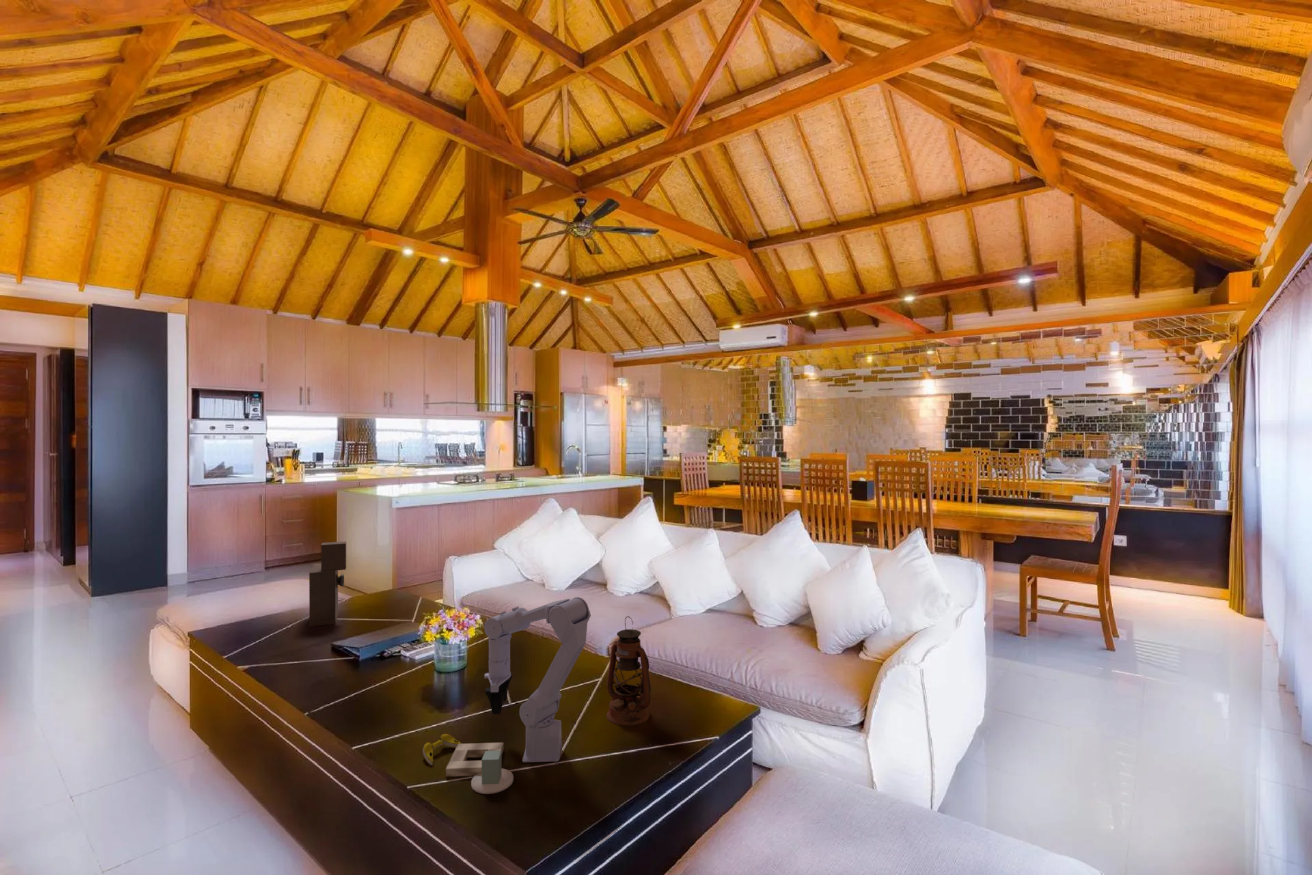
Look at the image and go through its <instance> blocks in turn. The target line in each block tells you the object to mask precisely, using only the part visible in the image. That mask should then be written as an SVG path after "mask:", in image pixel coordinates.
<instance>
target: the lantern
mask: <svg viewBox="0 0 1312 875" xmlns="http://www.w3.org/2000/svg"><path fill="white" fill-rule="evenodd" d="M627 618H629V619H631V622H632V624H634V622H633V619H632V618H631V617H630V616H629V615H627V616H626V617H625V619H624V621H626V620H627ZM626 624H627V623H626V622H624V626H625V627H624V628H625V629H621V630H620V631H617V633H616V635H617V637H619V638H618V639H617V640H615V641H614V642H613V643H612V645H611V647H610V649H611V651H610V659H609V664H608V666H609V667H608V673H607V679H606V689H607V692H608V694H609V695H610V697H611V700H610V701H609V703H608V704H609V705H608V706H609V707H608V711H607V713H606V719H607V721H609V722H610V723H611V724H614V725H618V726H625V727H631V726H637V725H641V724H643V723H646V721H647V720H648V719H649V718H650V713H649V710H648V707H649V706H650V703H651V691H652V686H651V685H652V684H651V680H650V673H649V670H650V661H649V657H648V655H647V653H646V651H645V650H644V648H643V647H642V645H641V639H640V636H641V635H642V632H641V631H639V630H637V629H634V628H631V629H629V628H627V625H626ZM617 658H618V659H617ZM639 658H640V662H639ZM640 668H641V671H640V672H638V670H639V669H640ZM618 670H619V671H620V675H621V677H622V681H620V680H619V679H618V678H619V677H618V676H617V674H618V672H617V671H618ZM623 671H624V672H634V671H635V674H632V676H630V677H629V678H628V679H625V678H624V674H623ZM638 677H639V678H640V682H638V683H636V684H628V683H627V682H629V681H630V680H633V679H636V678H638ZM614 680H615V681H616V682H615V681H614ZM614 688H615V689H614Z"/></svg>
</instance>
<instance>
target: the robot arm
mask: <svg viewBox="0 0 1312 875" xmlns="http://www.w3.org/2000/svg"><path fill="white" fill-rule="evenodd" d="M591 616H592V615H591V610H590V608H589V605H588V603H587V602H586V600H585V599H584V598H582V597H579V596H575V597H574V598H572V599H571V598H565V599H560V600H556V601H552V602H549V603H546V604H544V605H541V606H538V607H535V608H532V609H529V610H527V609H526V608H524V607H519V606H516V607H513V608H511V610H510V611H501V612H500V614H498V615H495V616H491V617H489V618H488V619H486V620H485V622H484V625H483V629H484V633H485V636H487V638H488V672H486V673H484V679H488V681H489V683H490V686H489V687H485V690H484V691H485V692H484V693H485V695H486V697H487V699H488V701H489V705H490V710H491V712H492V715H501V713H502V710H503V704H504V702H506V700H507V698H508V691H509V686H510V684H511V683H510V682H511V680H512V678H513V677H514V676H513V675H514V674H513V673H512V672H511V639H512V634H514V633H518V632H520V631H524V630H527V629H528V628H529V627H530V625H531V623H534V622H537V621H538V622H539V621H542V620H546V623H547V624H550V626H551V628H552V629H553V631H554V633H555V635H556V637H557V638H558V640H559V642H560V643H561V644H560V647H559V648H558V650H557V653H556V654H555V656H554V658H553V660H552V662H551V664H550V665H549V667H548V669H547V671H546V672H545V673H546V674H544V677H543V679H542V681H541V683H540V684H539V686H538V688H537V689H535V691H534V692H532V694H531V695H530V696H529V697H528V699H527V700H526V701H524V702H523V703H521V705H520V707H519V717H520V720H521V721H522V723H523V725H524V726H525V750H524V753H523V756H522V760H521V761H522V763H545V762H550V763H551V762H559V761H560V757H561V752H562V751H561V750H563V749H562V748H563V741H562V720H559V719H555V716H556V713H557V712H558V711H559V707H560V700H561V698H562V694H561V689H562V688H563V686H564V684H565V682H566V680H567V679H568V677H569V674H570V673H571V671H572V669H573V668H574V666H575V664H576V662H577V661H578V659H579V656H580V655H581V653H582V651H583V649H584V647H585V646H586V642H587V631H588V622H589V621H590V619H591Z"/></svg>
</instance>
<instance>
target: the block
mask: <svg viewBox="0 0 1312 875" xmlns="http://www.w3.org/2000/svg"><path fill="white" fill-rule="evenodd" d="M502 755H503V753H502V751H485V753H484V755H483V757H481V760H482V784H499V781H500V778H501V775H502V769H503V768H502V765H503V764H502V759H503V756H502Z"/></svg>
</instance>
